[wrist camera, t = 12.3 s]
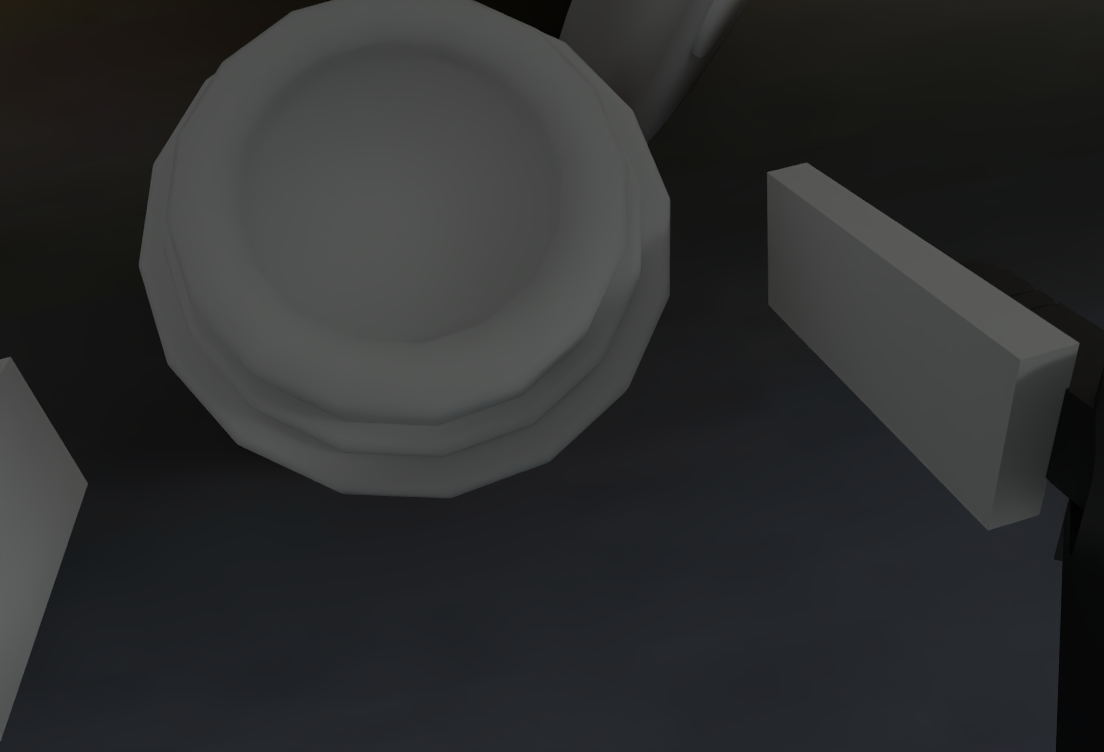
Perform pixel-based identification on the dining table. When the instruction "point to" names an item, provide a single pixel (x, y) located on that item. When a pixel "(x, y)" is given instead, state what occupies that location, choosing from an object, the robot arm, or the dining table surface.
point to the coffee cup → (406, 246)
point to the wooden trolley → (649, 48)
